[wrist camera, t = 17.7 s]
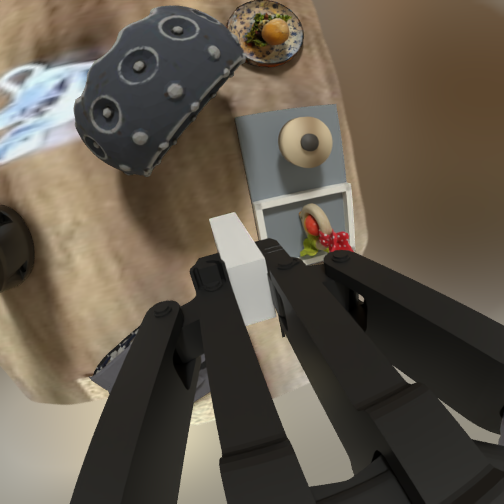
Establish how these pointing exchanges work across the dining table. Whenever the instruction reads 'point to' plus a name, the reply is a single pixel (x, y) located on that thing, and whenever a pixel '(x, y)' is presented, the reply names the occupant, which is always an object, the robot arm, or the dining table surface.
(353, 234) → the board
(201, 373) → the toy tank
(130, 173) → the dotted grey bowl
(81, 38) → the dining table surface
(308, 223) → the bird rattle
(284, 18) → the burger
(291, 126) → the wheel
